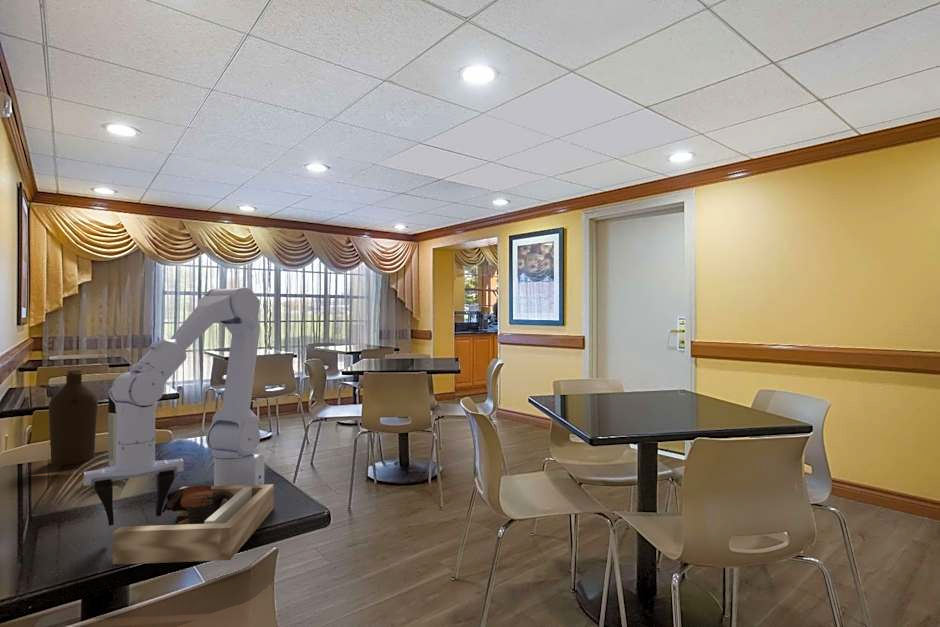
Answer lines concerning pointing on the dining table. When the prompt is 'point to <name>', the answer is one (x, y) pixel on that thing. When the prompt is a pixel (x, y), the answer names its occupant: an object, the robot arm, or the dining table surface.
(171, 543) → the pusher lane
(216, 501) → the pottery mug
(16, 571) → the dining table surface
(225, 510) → the pusher plate
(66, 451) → the olive oil
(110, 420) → the spray can
